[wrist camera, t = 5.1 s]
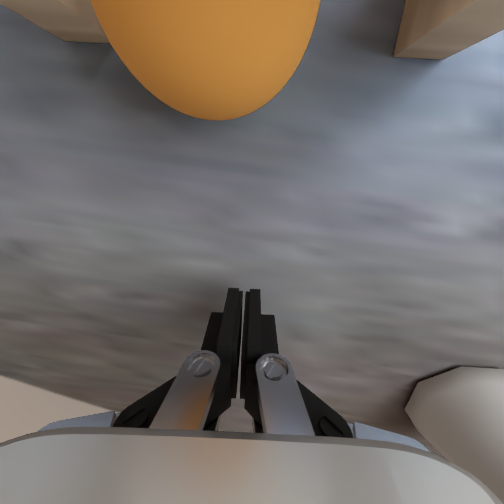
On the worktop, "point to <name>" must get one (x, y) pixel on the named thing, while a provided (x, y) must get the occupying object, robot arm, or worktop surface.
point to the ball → (210, 49)
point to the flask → (464, 420)
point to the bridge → (407, 46)
